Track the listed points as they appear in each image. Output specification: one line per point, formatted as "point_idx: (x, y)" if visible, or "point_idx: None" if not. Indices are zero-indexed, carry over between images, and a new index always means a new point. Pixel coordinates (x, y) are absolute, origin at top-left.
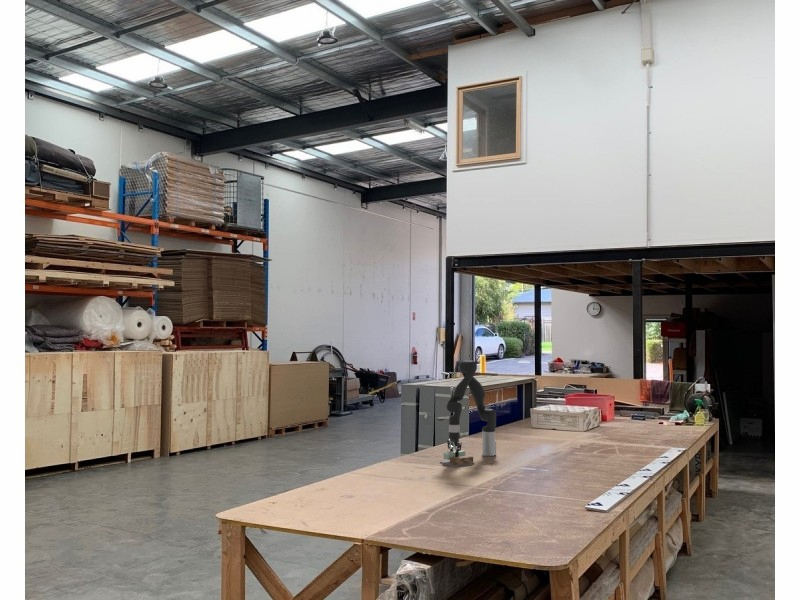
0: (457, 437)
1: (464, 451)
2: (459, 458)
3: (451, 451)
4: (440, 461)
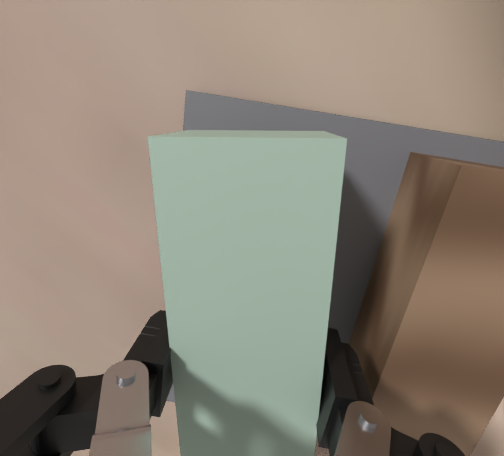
0: None
1: (341, 171)
2: (474, 445)
3: (180, 394)
4: (170, 398)
